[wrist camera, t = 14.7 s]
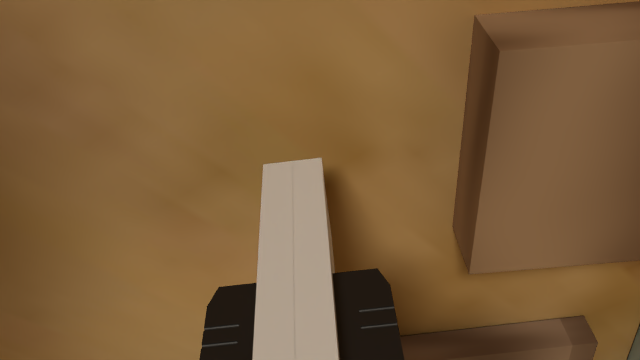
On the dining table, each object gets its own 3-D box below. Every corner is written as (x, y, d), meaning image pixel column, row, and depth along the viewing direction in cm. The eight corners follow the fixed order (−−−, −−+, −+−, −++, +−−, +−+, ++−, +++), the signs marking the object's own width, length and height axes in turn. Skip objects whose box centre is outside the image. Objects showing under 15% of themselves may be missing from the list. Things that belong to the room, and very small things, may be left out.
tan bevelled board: (449, 217, 19) (469, 274, 17) (469, 8, 14) (500, 51, 12) (724, 195, 19) (777, 249, 17) (827, -22, 14) (915, 17, 12)
